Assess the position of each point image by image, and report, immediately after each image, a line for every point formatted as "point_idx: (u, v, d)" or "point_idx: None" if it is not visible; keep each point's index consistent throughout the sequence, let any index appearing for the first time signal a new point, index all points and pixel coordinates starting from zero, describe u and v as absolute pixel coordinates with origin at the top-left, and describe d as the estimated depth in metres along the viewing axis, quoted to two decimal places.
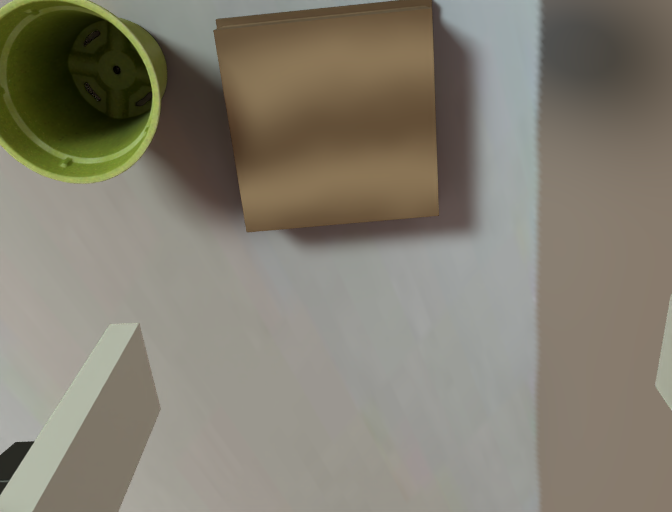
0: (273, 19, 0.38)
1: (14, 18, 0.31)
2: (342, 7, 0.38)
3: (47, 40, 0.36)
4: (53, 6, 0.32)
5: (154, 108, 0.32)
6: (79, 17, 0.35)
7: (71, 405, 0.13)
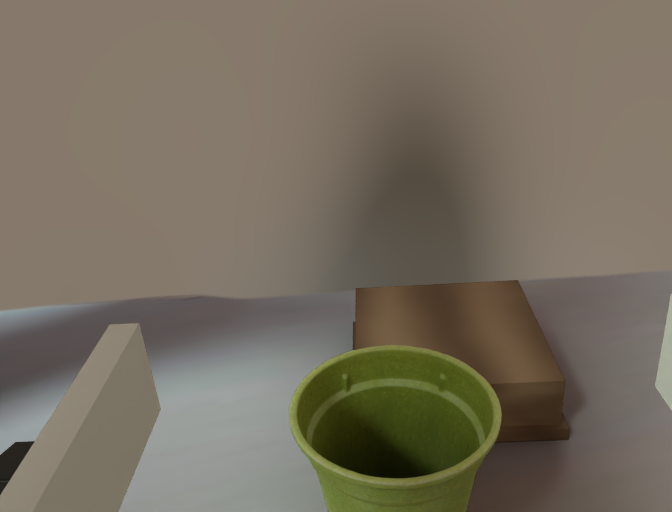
0: None
1: None
2: None
3: None
4: (306, 436, 0.29)
5: (411, 348, 0.32)
6: None
7: (71, 405, 0.13)
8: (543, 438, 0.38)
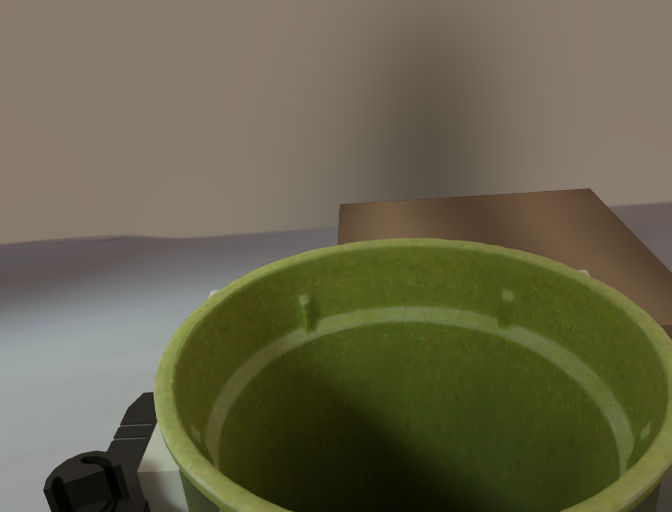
0: None
1: None
2: None
3: None
4: (207, 420, 0.13)
5: (440, 242, 0.16)
6: None
7: None
8: None
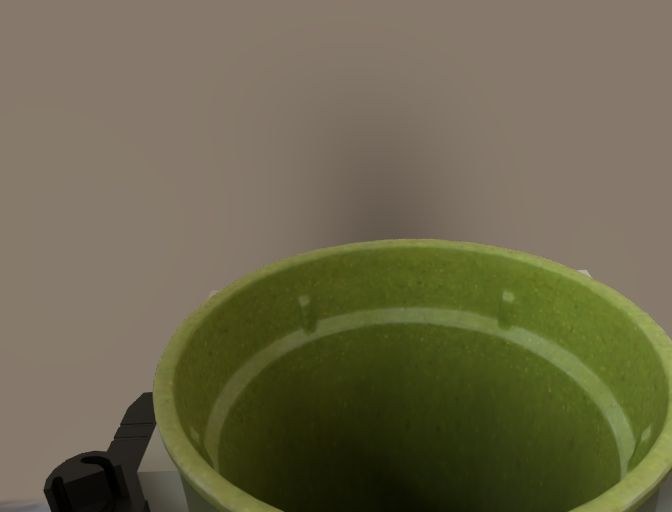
0: None
1: None
2: None
3: None
4: (207, 422, 0.13)
5: (441, 243, 0.16)
6: None
7: None
8: None
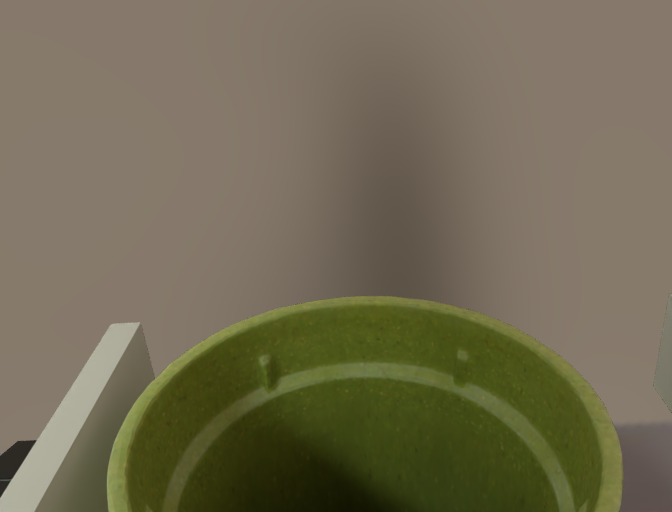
0: None
1: None
2: None
3: None
4: (164, 494, 0.13)
5: (398, 301, 0.16)
6: None
7: (73, 404, 0.13)
8: None
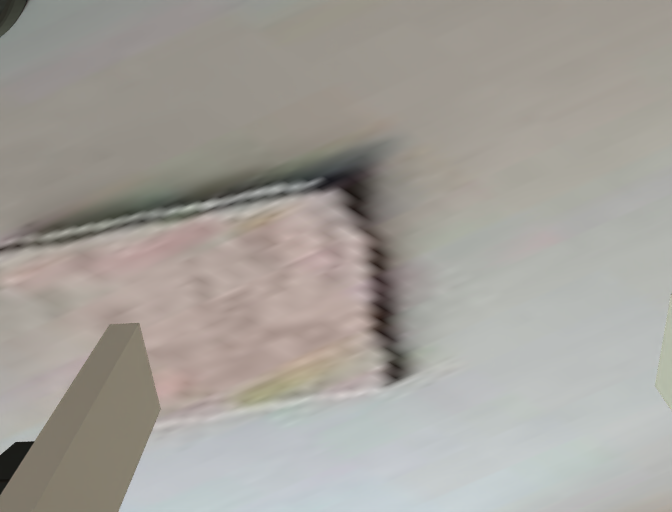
0: None
1: None
2: None
3: None
4: None
5: None
6: None
7: (71, 405, 0.13)
8: None
